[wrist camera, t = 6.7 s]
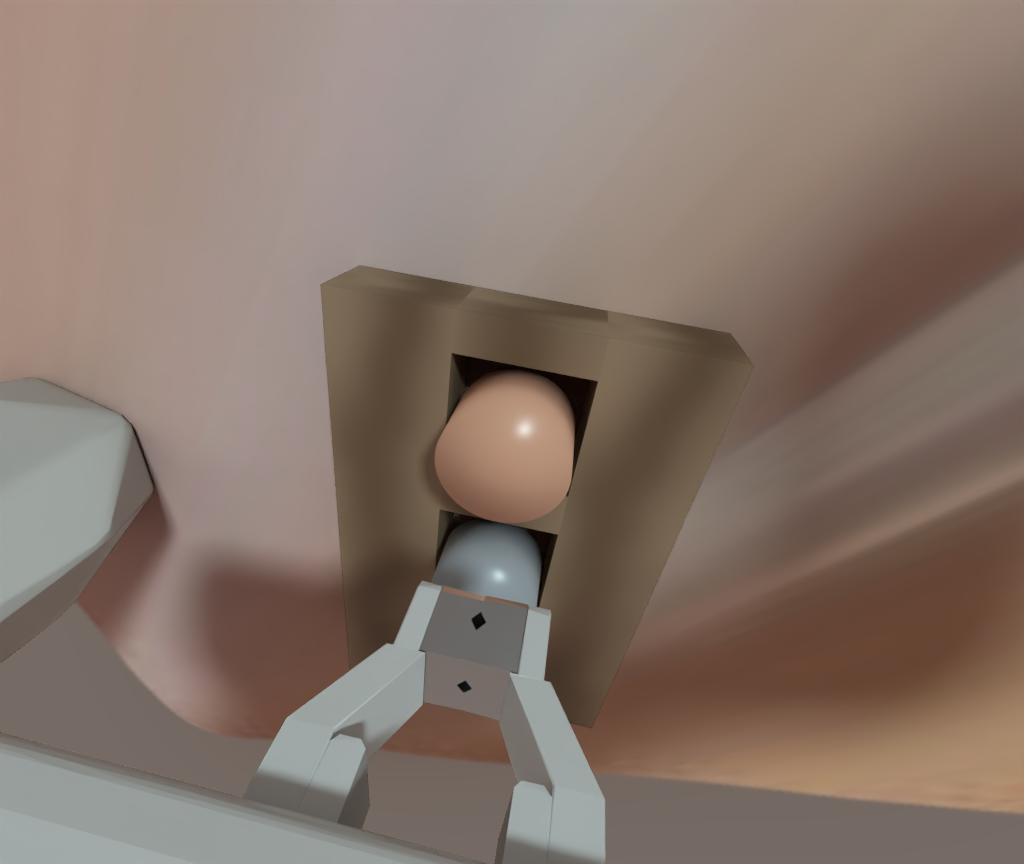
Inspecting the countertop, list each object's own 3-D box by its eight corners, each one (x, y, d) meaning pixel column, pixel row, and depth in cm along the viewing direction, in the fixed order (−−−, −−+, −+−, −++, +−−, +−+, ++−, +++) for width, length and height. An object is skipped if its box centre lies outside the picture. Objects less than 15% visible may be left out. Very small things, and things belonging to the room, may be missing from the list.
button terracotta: (587, 381, 16) (585, 424, 14) (562, 481, 18) (557, 534, 16) (462, 357, 16) (438, 395, 14) (453, 459, 19) (431, 507, 16)
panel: (730, 333, 17) (754, 365, 15) (592, 676, 29) (591, 728, 26) (359, 265, 18) (320, 284, 15) (370, 626, 29) (349, 671, 27)
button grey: (550, 530, 20) (543, 585, 17) (533, 598, 22) (525, 656, 20) (449, 508, 20) (428, 560, 18) (443, 578, 22) (423, 633, 20)
